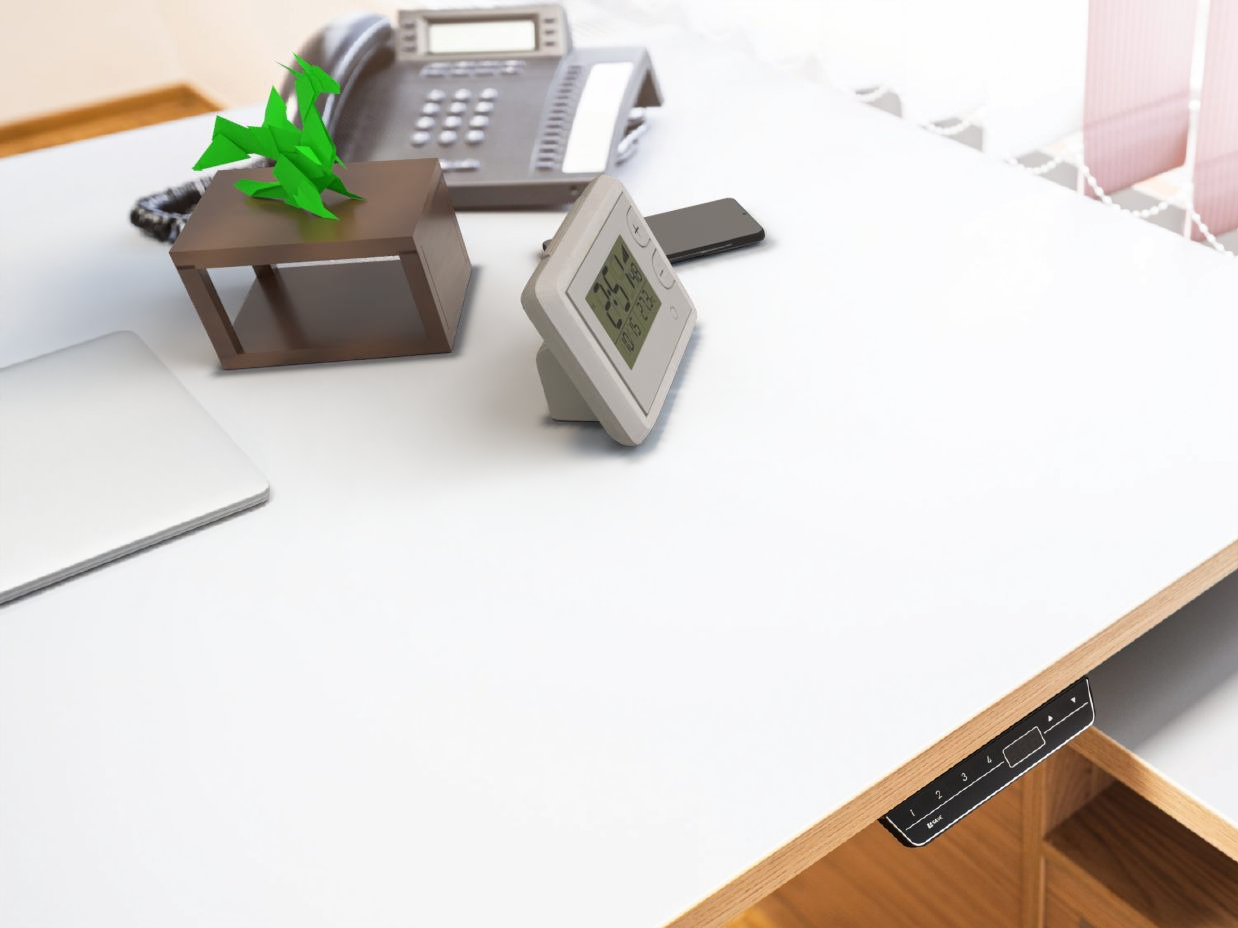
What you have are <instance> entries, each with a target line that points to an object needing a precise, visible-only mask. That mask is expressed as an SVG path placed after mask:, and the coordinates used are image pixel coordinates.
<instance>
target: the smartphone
mask: <svg viewBox="0 0 1238 928" xmlns="http://www.w3.org/2000/svg"><path fill="white" fill-rule="evenodd" d="M643 218H644V219H645V221H646V223H647V225H648V226H649V228H650V230H651V231H652V233H653V235H654V236H655V238H656V240H657V242H658V243H659V245H660V247H661V248H662V250H663V252H664V254H665V255H666V257H667V259H668V260H669V262H670V264H672V263H675V262H680V261H683V260H688V259H692V258H696V257H700V256H704V257H705V256H709V255H712V254H716V253H719V252H724V251H728V250H731V249H736V248H739V247H744V246H747V245H751V244H756V243H760V242H762V241H764V240H765V238H766V230H765V229H764V227H762V225H761V224H760V223H759V222H758V221H757V220H756V219H755V218H754V217H753V216H752V215H751V214H750V213H749V211H747V210H746V209H745V208H744V207H743V206H742V205H741V204H740V202H738V201H737V200H736V199H735V198H733V197H725V198H719V199H716V200H711V201H708V202H707V201H706V202H703V203H698V204H694V205H690V206H686V207H682V208H678V209H677V208H676V209H672V210H669V211H665V212H660V213H656V214H652V215H647V216H643ZM551 240H552V238H550V239H546V240H544V241H543V242H542V250H543V252H544V251H545V250H546V248H547V246H548V245H549V243H550V242H551Z"/></svg>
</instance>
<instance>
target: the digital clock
mask: <svg viewBox="0 0 1238 928" xmlns="http://www.w3.org/2000/svg"><path fill="white" fill-rule="evenodd" d="M643 217H644V215H643V214H642V213H641V210H640V209H639V208H638V206H637V203H636V202H635V200H634V199H633V197H632V196H631V194H630V192H629V191H628V189H627V187H626V186H625V185H624V183H623V182H622V181H621V180H619V179H617V178H616V177H613V176H611V175H608V174H601V175H599V176H596V177H594V178H593V179H592V180H591V181H590V182H589V183H588V184H587V186H586V187H585V188H584V190H583V191H582V193H581V194H580V196H578V197H577V198H576V199H575V201H574V203H573V204H572V206H571V208H569V211H568V212H567V213H566V215H565V217H564V219H563V221H562V222H561V224H560V225H559V227H558V228H557V230H556V231H555V233H554V235H553V236H552V238H551V239H552V240H551V242H550V243H549V245H548V246H547V248H546V250H545V251H544V250H543V253H542V255H541V256H540V261H539V262H538V264H537V266H536V267H535V269H534V270H533V273H532V274H531V276H530V277H529V279H528V280H527V282H526V284H525V285H524V287H523V290H522V292H521V294H520V304H521V307H522V310H523V311H524V313H525V315H526V316H527V318H528V319H529V321H530V322H531V324H532V325H533V326H534V328H535V329H536V331H537V333H538V335H540V337H541V339H542V340H543V342H542V343H541V345H540V347H539V349H538V350H537V353H536V356H535V364H536V369H537V374H538V377H539V380H540V383H541V387H542V390H543V393H544V397H545V401H546V404H547V407H548V410H549V414H550V417H551V419H553V420H557V421H573V422H575V421H576V422H599V423H600V424H601V426H602V427H603V428H604V430H605V431H606V433H607V434H608V435H609V436H610V437H611V439H612V440H614V441H616V442H617V443H619V444H621V445H622V446H623V445H624V446H626V447H627V446H628V447H632V446H638V445H641V444H642V443H643V442H644V441H645V439H646V438H647V437H648V435H649V433H650V432H651V430H652V429H653V428H654V426H655V424H656V423H657V422H656V421H657V419H658V417H659V416H660V413H661V410H662V408H663V406H664V403H665V400H666V397H667V396H668V393H669V391H670V388H671V386H672V383H673V381H674V378H675V376H676V373H677V371H678V368H679V366H680V363H681V361H682V359H683V356H684V354H685V351H686V349H687V346H688V344H689V341H690V339H691V337H692V334H693V331H694V329H695V326H696V323H697V319H698V311H697V308H696V306H695V304H694V302H693V300H692V298H691V297H690V295H689V293H688V290H686V287H685V286H684V284H683V283H682V281H681V279H680V278H679V276H678V274H677V273H676V271H675V269H674V268H673V265H672V263H670V262H669V260H668V259H667V257H666V255H665V254H664V252H663V250H662V248H661V247H660V245H659V243H658V242H657V240H656V238H655V236H654V235H653V233H652V231H651V230H650V228H649V226H648V225H647V223H646V221H645V219H644V218H643Z"/></svg>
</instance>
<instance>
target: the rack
mask: <svg viewBox="0 0 1238 928" xmlns="http://www.w3.org/2000/svg"><path fill="white" fill-rule="evenodd" d="M342 163H343V164H344V166H345V167H346V168H347V169H346V168H345V167H344V166H342V165H341V164H340V163H339V162H337V163H334V164H333V167H332V170H331V172H332V173H333V174H335V175H336V176H338V177H339V178H340V179H341V181H342V183H343V185H344V186H345V188H346V190H347V192H349V193H352V194H354V195H357V196H359V197H362V198H364V199H367V200H363V199H354V198H350V197H347V196H345V195H342V194H339V193H337V192H334V191H332V190H329V189H325V190H324V191H323V192H322V193H321V194H320V198H321V201H322V204H323V207H324V208H325V209H326V210H328V211H329V212H330V213H332V214H333V215H334V216H336V217H337V218H338V219H331V218H323V217H321V216H319V215H317V214H315V213H312V212H310V211H308V210H306V209H304V208H302V207H301V208H300V209H299V208H297V207H294V206H292V205H289V204H287V203H284V202H285V201H286V199H280V198H266V197H252V196H249V195H247V194H246V193H244V192H243V191H241V190H240V189H238V188H237V187H235V186H234V185H233V184H235V183H237V182H238V181H240V180H241V179H247V180H252V181H258V182H264V183H271V182H279V181H278V180H277V179H276V177H275V176H274V175H273V173H272V172H273V169H274V167H275V166H269V167H250V168H233V169H217V171H216V172H215V174H214V175H213V177H212V179H211V181H210V182H209V184H208V185H207V187H206V189H205V191H204V193H203V194H202V196H201V197H200V199H199V201H198V202H197V204H196V206H195V207H194V209H193V211H192V212H191V214H190V216H189V217H188V219H187V221H186V222H185V224H184V226H183V227H182V229H181V230H180V232H179V234H178V235H177V237H176V239H175V241H174V242H173V244H172V245H171V248H169V250H168V255H169V257H170V259H171V261H172V263H173V265H174V268H175V269H176V272H177V273H178V275H179V278H180V280H181V282H182V284H183V286H184V288H185V290H186V292H187V294H188V296H189V299H190V301H191V302H192V305H193V307H194V309H195V310H196V313H197V316H198V317H199V319H200V321H201V324H202V326H203V328H204V330H205V332H206V334H207V337H208V339H209V341H210V343H211V345H212V347H213V349H214V351H215V353H216V355H217V357H218V360H219V361H220V364H221V366H222V368H223V370H239V369H250V368H262V367H263V368H264V367H274V366H275V367H278V366H289V365H301V364H303V365H304V364H313V363H314V364H315V363H326V362H328V363H329V362H339V361H341V362H342V361H351V360H353V361H354V360H363V359H364V360H366V359H378V358H390V357H391V358H392V357H405V356H415V355H428V354H441V353H452V350H453V346H454V343H455V339H456V334H457V330H458V327H459V323H460V318H461V314H462V310H463V306H464V302H465V297H466V294H467V290H468V286H469V282H470V277H471V274H472V269H473V265H472V263H471V259H470V256H469V253H468V250H467V247H466V246H467V245H466V243H465V240H464V237H463V234H462V230H461V227H460V224H459V221H458V218H457V217H458V216H457V214H456V211H455V207H454V204H453V202H452V198H451V195H450V191H449V188H448V185H447V181H446V179H445V175H444V172H443V169H442V166H441V163H440V159H439V157H424V158H408V159H407V158H406V159H391V160H388V159H387V160H373V161H354V162H353V161H352V162H342ZM339 219H340V220H339ZM383 257H384V258H385V257H386V258H387V257H398V258H399V259H389V260H388V259H387V260H373V261H359V262H346V263H345V262H344V263H330V264H314V265H299V266H298V265H297V266H285V267H278V265H280V264H282V265H283V264H296V263H298V264H299V263H311V262H324V261H340V260H342V261H343V260H356V259H369V258H370V259H371V258H372V259H373V258H383ZM250 266H251V267H252V269H253V272H254V275H255V279H254V281H253V283H252V285H251V286H250V290H249V291H248V293H247V295H246V297H245V299H244V302H243V304H242V306H241V307H240V309H239V312H238V315H237V316H236V318H235V320H234V321H233V324H232V321H231V320H230V317H229V315H228V313H227V310H226V308H225V306H224V305H223V302H222V300H221V298H220V295H219V293H218V291H217V289H216V287H215V284H214V282H213V280H212V278H211V276H210V274H209V272H208V269H209V270H210V269H221V268H222V269H223V268H237V267H250Z"/></svg>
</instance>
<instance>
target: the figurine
mask: <svg viewBox="0 0 1238 928" xmlns="http://www.w3.org/2000/svg"><path fill="white" fill-rule="evenodd" d="M292 54H293V56H294V57H295V59H296V62H298V64H299V65H300V67H301V68H303V69H304V70H303V69H301V72H302V73H300V72H299V71H297V70H294V69H292V68H290V67H288V66H286V65H284V64H282V63H280V62H278V61H276V60H275V61H274V62H275V63H276V64H279V65H280V66H282V67H283V68H284V69H286V70H288V71H289V72H290V73H291V74H292V75H293V76H294V77H296V79H297V80H293V81H294V82H293V83H294V87H295V93H296V97H297V104H298V109H299V113H300V118H301V123H302V126H303V128H302V130H300V129H299V128H298V127H296V125H294V124H293V123H292V121H290V120H289V119H288V114H287V110H288V106H287V104H286V103H285V101H284V100H283V99H282V97H281V95H280V93H279V92H278V90H277V89H276V87H275V86H274V85H272V86H271V90H270V93H269V95H268V96H269V97H268V100H267V102H266V107H265V110H264V117H263V118H264V120H263V122H262V124H261V126H255V125H254V126H253V125H246V126H244V125H241V124H239V123H236V122H234V121H232V120H230V119H227V118H225V117H223V116H220V115H218V114H216V117H215V121H214V127H213V131H212V137H211V141H212V142H210V144H209V146H208V147H207V148H206V149H205V151H204V152H203V153H202V154H201V156H200V157H199V159H198V160H197V161H196V163H195V164H194V165H193V166H192V167H191V170H193V171H194V172H203V170H206V169H210V168H215V167H220V166H223V165H227V164H232V163H235V162H240V161H245V160H249V159H252V156H251V155H258V156H262V157H265V158H267V159H272V160H274V161H275V162H276V163H275V165H274V166H273V167H274V169H273V172H272V173H273V175H274V176H275V177H276V179H277V180H278V181H279V182H271V183H264V182H258V181H252V180H247V179H241V180H240V181H238V182H237V183H235V184H233V185H234V186H235V187H237V188H238V189H240V190H241V191H243V192H244V193H246V194H247V195H249V196H252V197H266V198H280V199H286V201H285V202H284V203H287V204H289V205H292V206H294V207H297V208H299V209H300V208H301V207H302V208H304V209H306V210H308V211H310V212H312V213H315V214H317V215H319V216H321V217H323V218H331V219H338V218H337V217H336V216H334V215H333V214H332V213H330V212H329V211H328V210H326V209H325V208H324V207H323V204H322V201H321V198H320V194H321V193H322V192H323V191H324V190H325V189H329V190H332V191H334V192H337V193H339V194H342V195H345V196H347V197H350V198H354V199H363V200H367V199H364V198H362V197H359V196H357V195H354V194H352V193H349V192H347V190H346V188H345V186H344V185H343V183H342V181H341V179H340V178H339V177H338V176H336V175H335V174H333V173H332V172H331V170H332V167H333V164H335V161H337V163H340V164H341V165H342V166H344V164H343V163H344V162H342V161H341V159H340V158H339V156H338V155H337V147H336V145H335V143H334V141H333V139H332V137H331V135H330V133H329V130H328V129H327V127H326V125H325V123H324V120H323V118H322V116H321V114H320V112H319V110H318V108H317V106H316V104H315V103H316V101H317V99H318V98H319V96H320V94H321V93H324V94H326V93H329V94H337V95H340V94H341V84H340V83H339V82H337V81H336V80H335V79H333V77H331V76H330V75H329V74H327V73H326V72H325V71H324V70H323V69H322V68H320V67H319V66H318V65H314V64H312V65H310V64H309V63H307V61H305V60H304V59H302V58H301V57H300V56H299V55H297V54H296V53H294V52H292ZM344 167H345V166H344ZM345 168H346V167H345ZM346 169H347V168H346ZM339 220H340V219H339Z"/></svg>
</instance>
